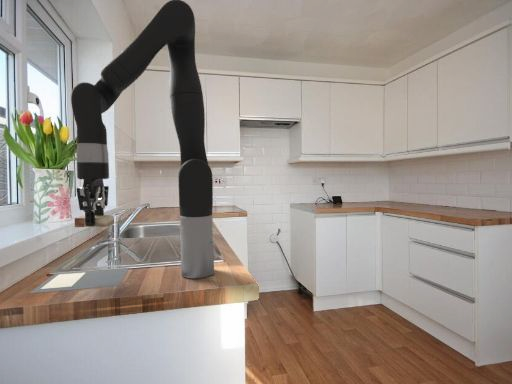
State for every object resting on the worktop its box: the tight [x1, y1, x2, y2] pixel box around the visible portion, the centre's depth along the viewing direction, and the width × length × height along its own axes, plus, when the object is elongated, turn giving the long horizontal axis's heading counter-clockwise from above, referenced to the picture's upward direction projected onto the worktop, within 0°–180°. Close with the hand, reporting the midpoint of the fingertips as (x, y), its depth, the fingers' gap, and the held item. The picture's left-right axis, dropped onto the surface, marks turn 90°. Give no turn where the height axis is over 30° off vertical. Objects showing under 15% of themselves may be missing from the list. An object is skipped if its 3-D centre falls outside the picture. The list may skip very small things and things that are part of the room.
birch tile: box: [74, 214, 115, 228], centre depth 80 cm, size 8×5×2 cm, turn 96°
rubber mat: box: [29, 267, 130, 294], centre depth 80 cm, size 20×15×1 cm
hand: (95, 223), depth 80 cm, fingers closed on birch tile, 5 cm apart
